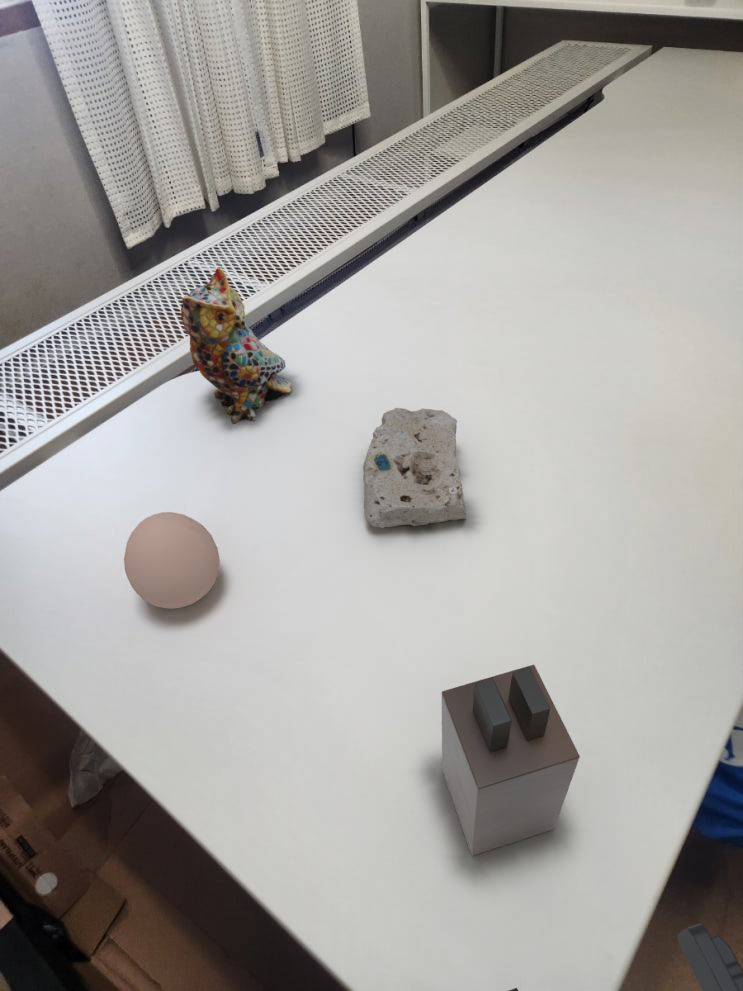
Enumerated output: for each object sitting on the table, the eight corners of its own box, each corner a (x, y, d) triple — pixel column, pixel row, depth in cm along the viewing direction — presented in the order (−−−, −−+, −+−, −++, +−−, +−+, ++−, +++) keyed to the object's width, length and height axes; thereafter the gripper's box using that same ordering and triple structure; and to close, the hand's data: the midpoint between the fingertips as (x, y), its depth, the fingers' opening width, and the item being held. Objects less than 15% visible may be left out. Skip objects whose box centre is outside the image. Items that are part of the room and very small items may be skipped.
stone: (466, 523, 54) (346, 504, 56) (460, 555, 59) (349, 537, 60) (483, 399, 61) (375, 384, 62) (476, 437, 66) (376, 423, 67)
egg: (159, 555, 59) (126, 489, 53) (238, 557, 58) (214, 490, 52) (131, 625, 54) (91, 561, 48) (216, 629, 53) (187, 564, 47)
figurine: (291, 421, 70) (263, 291, 59) (206, 430, 70) (162, 302, 59) (292, 373, 76) (266, 246, 65) (213, 381, 76) (175, 256, 65)
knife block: (518, 746, 45) (539, 634, 35) (554, 829, 41) (590, 730, 31) (441, 770, 44) (440, 662, 34) (471, 856, 41) (480, 764, 30)
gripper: (1223, 1605, 16) (775, 884, 27) (695, 1903, 14) (443, 1002, 26) (1029, 1488, 22) (720, 926, 33) (626, 1695, 20) (443, 1026, 31)
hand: (599, 960), depth 29 cm, fingers open, 8 cm apart
